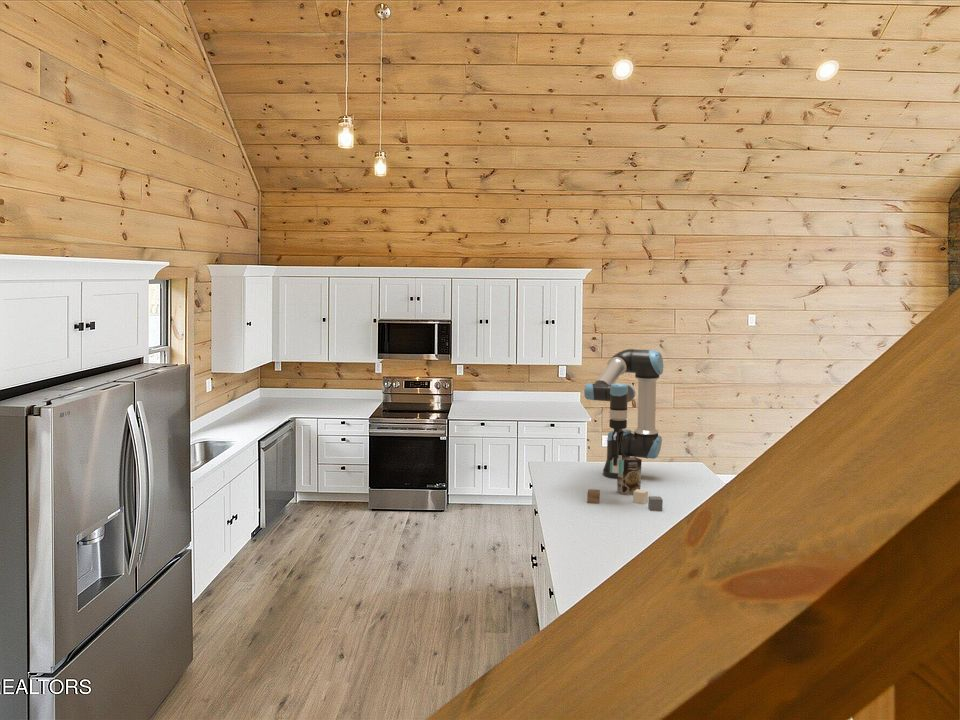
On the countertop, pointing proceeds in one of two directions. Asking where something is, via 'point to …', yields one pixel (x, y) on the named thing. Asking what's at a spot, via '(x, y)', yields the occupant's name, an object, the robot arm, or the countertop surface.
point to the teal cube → (621, 466)
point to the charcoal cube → (655, 503)
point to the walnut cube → (593, 496)
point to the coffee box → (630, 476)
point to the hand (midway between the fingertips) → (616, 471)
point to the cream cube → (640, 496)
